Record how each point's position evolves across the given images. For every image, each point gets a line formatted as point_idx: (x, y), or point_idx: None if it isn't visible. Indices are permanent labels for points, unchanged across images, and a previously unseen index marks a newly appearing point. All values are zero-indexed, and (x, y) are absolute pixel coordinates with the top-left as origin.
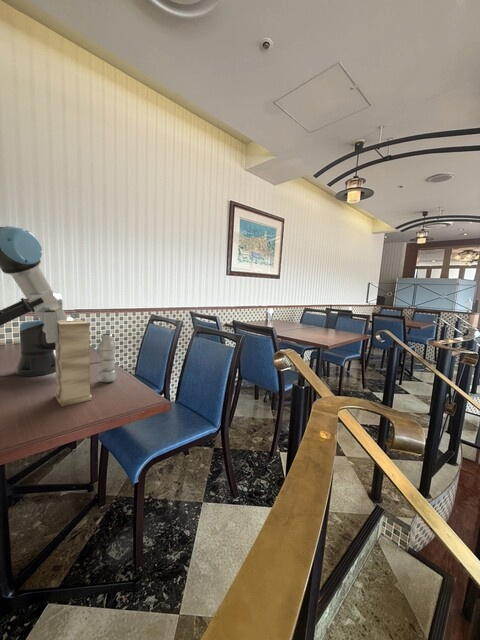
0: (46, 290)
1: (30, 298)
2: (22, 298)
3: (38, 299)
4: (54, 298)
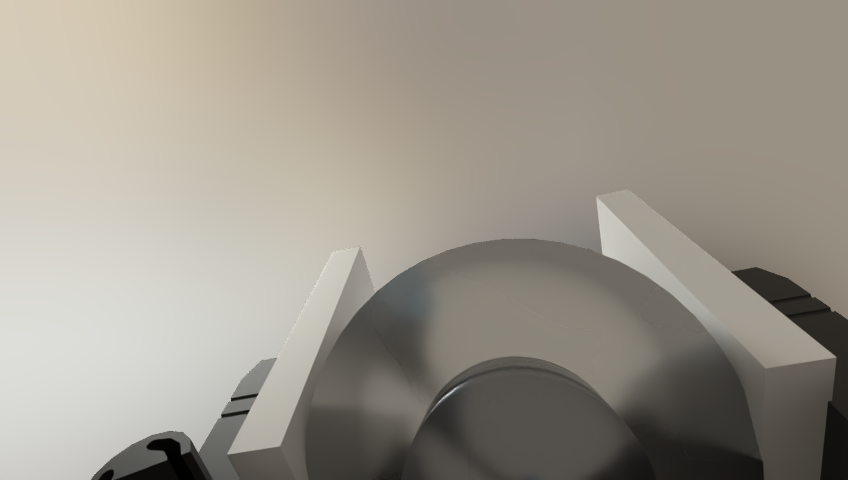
0: (359, 251)
1: (685, 311)
2: (189, 442)
3: (801, 289)
4: None
